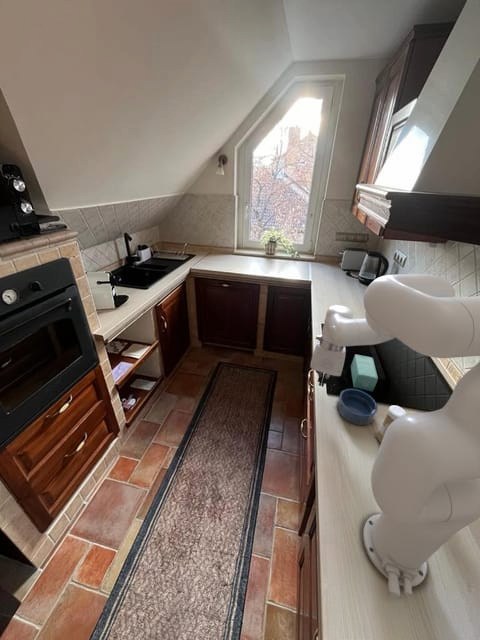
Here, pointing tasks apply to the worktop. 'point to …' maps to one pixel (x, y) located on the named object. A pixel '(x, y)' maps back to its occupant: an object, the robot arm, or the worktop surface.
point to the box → (364, 373)
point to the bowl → (357, 406)
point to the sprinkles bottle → (390, 420)
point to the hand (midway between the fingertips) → (321, 383)
